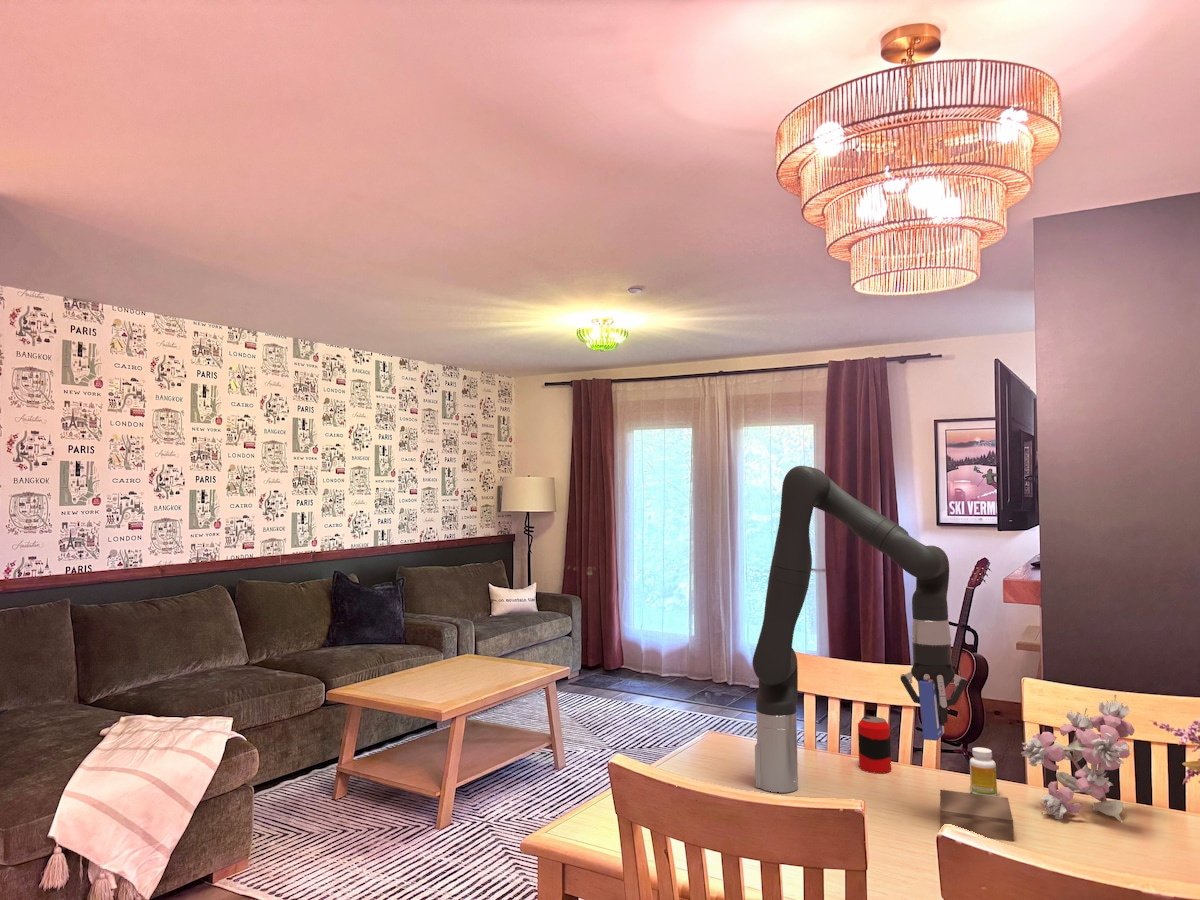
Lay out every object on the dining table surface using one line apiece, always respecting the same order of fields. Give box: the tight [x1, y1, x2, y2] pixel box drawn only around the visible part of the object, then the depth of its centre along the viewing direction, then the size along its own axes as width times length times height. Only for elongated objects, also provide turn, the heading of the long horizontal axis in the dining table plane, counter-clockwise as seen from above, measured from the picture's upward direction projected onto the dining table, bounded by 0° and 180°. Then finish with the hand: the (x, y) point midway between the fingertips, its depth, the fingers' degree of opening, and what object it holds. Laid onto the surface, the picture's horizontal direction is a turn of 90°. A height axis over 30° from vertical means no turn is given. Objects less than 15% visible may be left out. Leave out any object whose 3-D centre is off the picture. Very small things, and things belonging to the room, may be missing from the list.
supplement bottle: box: [969, 747, 998, 796], centre depth 180 cm, size 5×5×10 cm
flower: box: [1020, 694, 1135, 822], centre depth 169 cm, size 20×22×25 cm
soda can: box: [857, 716, 892, 774], centre depth 198 cm, size 8×8×12 cm
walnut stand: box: [939, 789, 1015, 842], centre depth 163 cm, size 13×13×4 cm
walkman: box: [917, 679, 945, 742], centre depth 167 cm, size 8×3×12 cm, turn 146°
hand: (935, 723), depth 167 cm, fingers closed on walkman, 2 cm apart
